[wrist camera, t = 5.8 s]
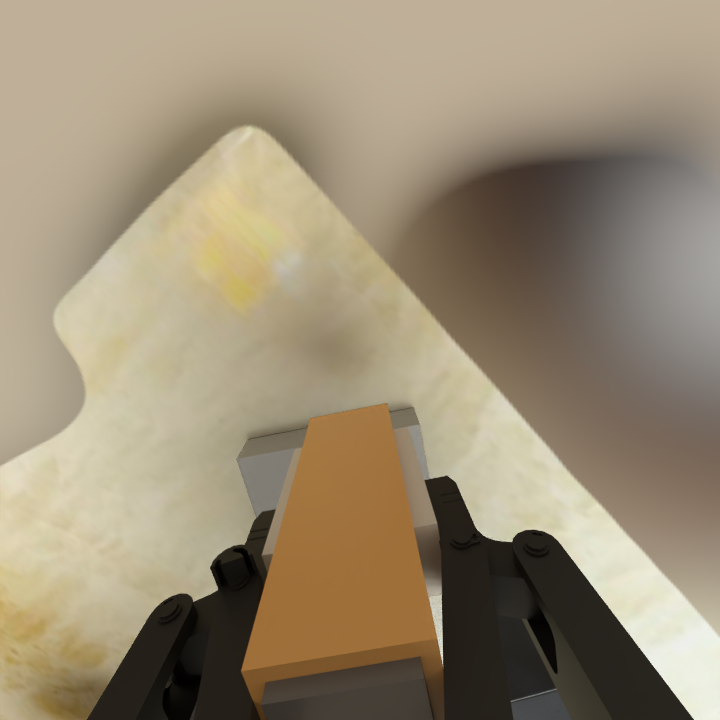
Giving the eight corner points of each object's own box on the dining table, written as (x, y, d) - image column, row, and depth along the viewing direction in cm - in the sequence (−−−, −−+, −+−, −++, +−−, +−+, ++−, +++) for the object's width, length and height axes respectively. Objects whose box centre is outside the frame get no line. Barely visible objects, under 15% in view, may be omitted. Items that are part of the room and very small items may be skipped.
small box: (464, 594, 41) (499, 705, 31) (521, 575, 41) (576, 682, 30) (494, 659, 44) (535, 780, 34) (548, 641, 43) (606, 760, 33)
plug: (328, 485, 20) (288, 820, 8) (310, 418, 19) (235, 693, 7) (401, 471, 20) (469, 793, 8) (387, 403, 19) (441, 659, 7)
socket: (290, 571, 40) (283, 603, 36) (247, 439, 36) (235, 461, 32) (438, 545, 39) (446, 575, 36) (413, 407, 35) (420, 425, 31)
